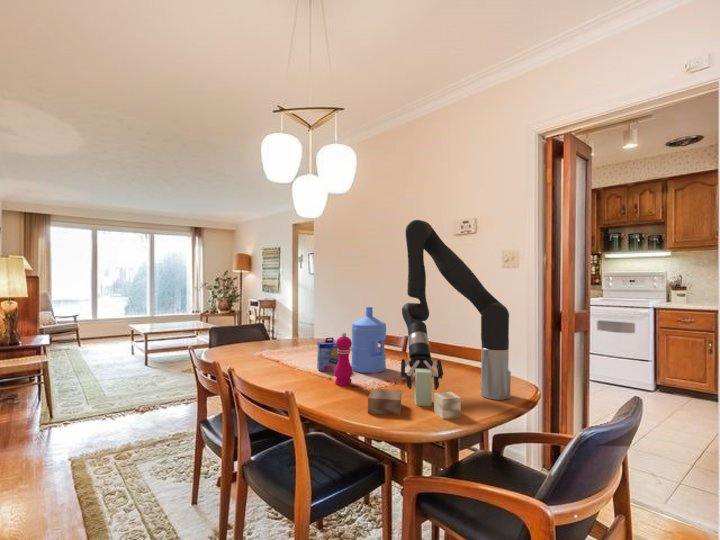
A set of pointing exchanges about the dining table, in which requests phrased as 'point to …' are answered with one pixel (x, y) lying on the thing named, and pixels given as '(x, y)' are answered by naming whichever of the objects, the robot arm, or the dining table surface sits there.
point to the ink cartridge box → (327, 355)
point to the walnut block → (384, 402)
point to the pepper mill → (343, 362)
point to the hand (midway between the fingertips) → (423, 388)
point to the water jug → (368, 344)
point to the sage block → (423, 387)
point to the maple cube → (447, 405)
